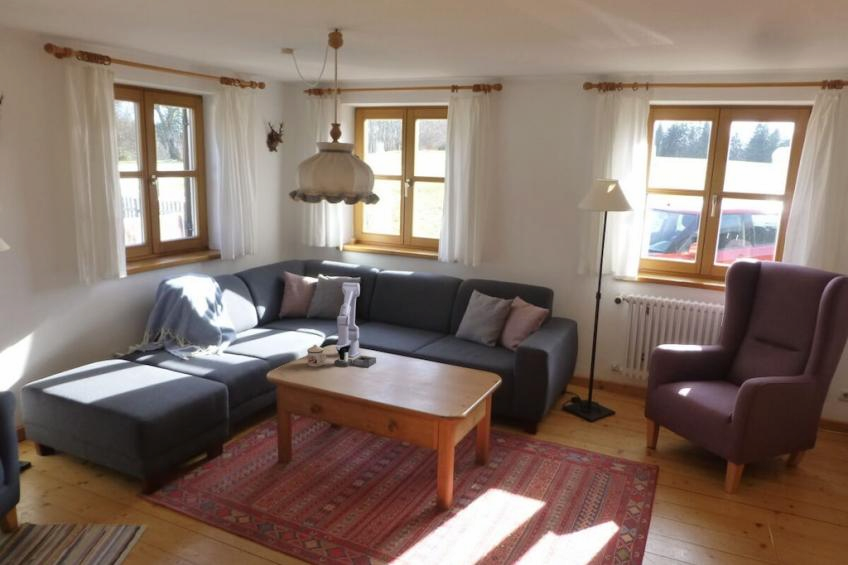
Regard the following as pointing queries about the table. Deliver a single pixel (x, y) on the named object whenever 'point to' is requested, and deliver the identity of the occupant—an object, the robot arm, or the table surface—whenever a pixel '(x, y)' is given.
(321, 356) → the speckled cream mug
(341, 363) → the grey hollow square frame
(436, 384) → the table surface
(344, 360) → the plug
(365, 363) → the port
